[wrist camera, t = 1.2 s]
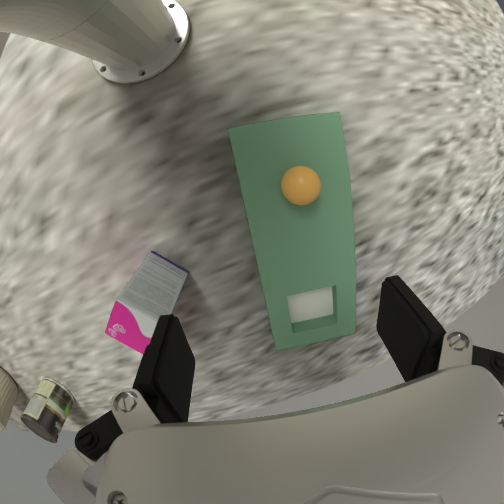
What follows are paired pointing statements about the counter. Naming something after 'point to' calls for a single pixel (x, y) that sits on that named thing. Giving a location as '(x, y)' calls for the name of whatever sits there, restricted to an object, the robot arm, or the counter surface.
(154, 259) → the supplement box
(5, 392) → the canister
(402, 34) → the counter surface
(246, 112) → the counter surface
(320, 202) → the green
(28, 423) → the coffee can
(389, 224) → the counter surface
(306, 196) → the ball
